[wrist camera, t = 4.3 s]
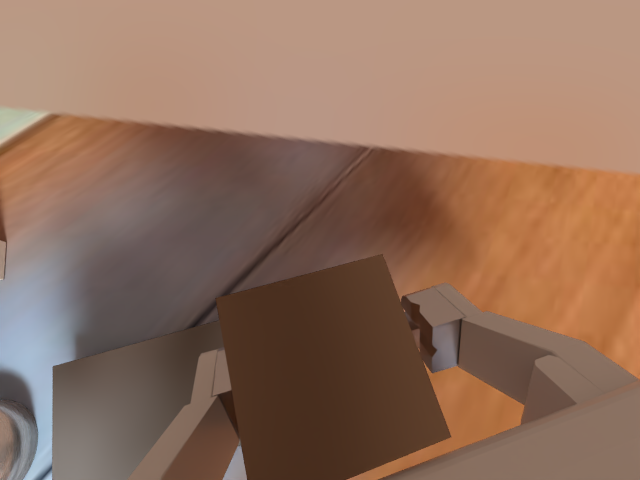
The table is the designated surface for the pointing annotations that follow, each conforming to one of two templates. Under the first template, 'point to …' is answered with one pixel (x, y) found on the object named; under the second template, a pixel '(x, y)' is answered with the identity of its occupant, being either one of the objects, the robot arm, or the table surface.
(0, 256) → the low shelf
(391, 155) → the table surface
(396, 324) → the brown l-shaped block
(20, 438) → the steel bowl
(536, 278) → the table surface
